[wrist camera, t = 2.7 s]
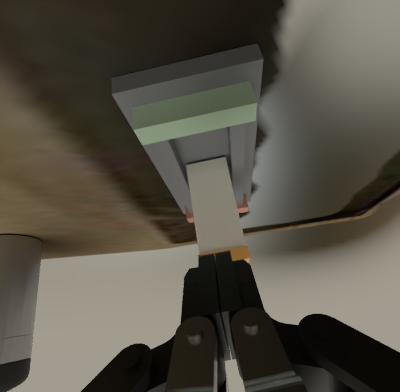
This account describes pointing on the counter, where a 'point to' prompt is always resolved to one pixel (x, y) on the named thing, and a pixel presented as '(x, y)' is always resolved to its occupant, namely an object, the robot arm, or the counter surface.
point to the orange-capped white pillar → (215, 209)
